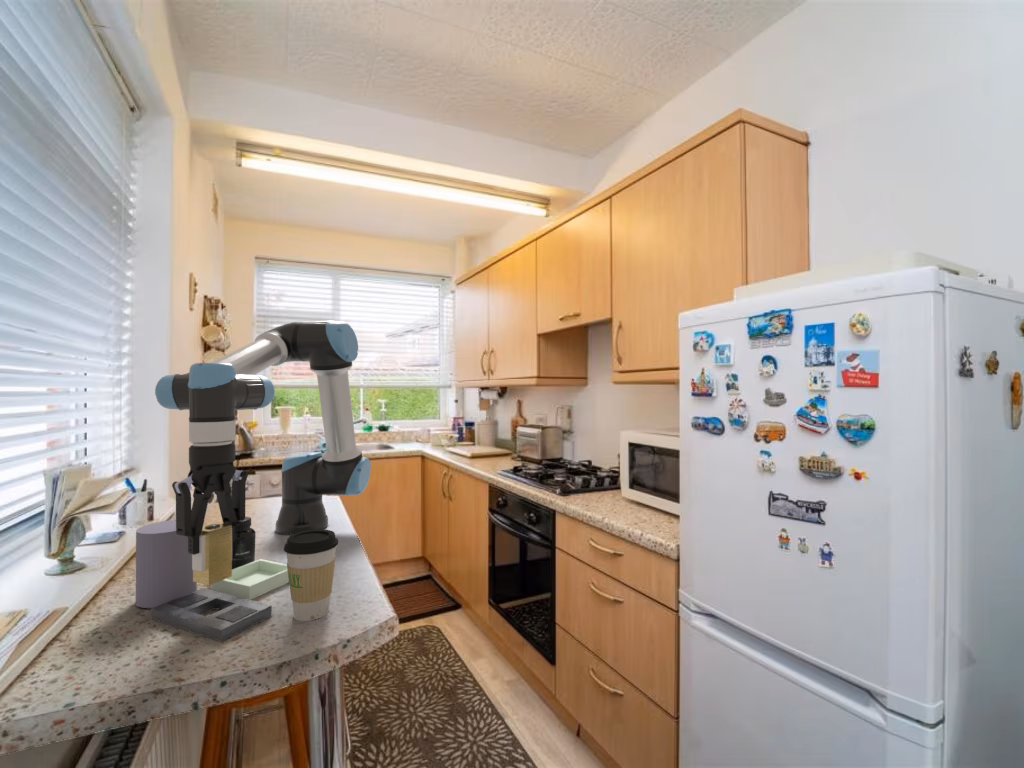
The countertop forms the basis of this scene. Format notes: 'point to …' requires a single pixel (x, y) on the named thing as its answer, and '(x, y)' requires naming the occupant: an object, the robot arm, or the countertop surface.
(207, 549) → the upright wooden post
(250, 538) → the supplement bottle
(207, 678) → the countertop surface
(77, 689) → the countertop surface
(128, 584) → the countertop surface
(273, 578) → the tray
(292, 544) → the coffee cup
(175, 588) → the container
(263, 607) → the slotted grey trivet
